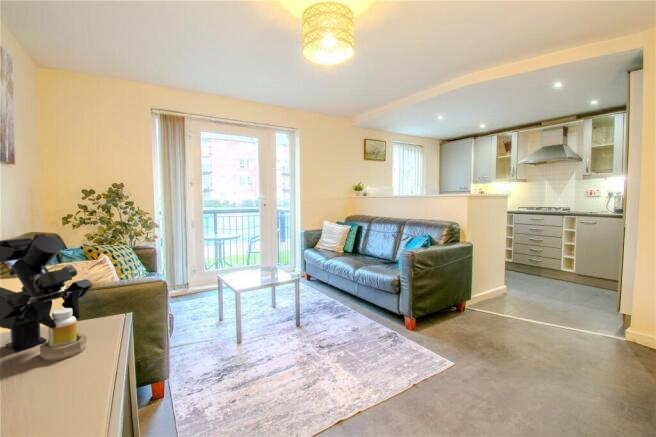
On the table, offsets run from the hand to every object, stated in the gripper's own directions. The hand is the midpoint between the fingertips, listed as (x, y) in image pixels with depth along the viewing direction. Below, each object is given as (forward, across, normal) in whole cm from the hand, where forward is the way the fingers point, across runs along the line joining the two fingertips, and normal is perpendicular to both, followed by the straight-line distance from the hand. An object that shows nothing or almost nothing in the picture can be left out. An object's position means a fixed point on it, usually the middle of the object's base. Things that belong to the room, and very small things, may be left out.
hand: (66, 323), depth 77 cm
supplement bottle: (+4, 0, +6) cm, 7 cm away
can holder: (+5, 0, +7) cm, 8 cm away
